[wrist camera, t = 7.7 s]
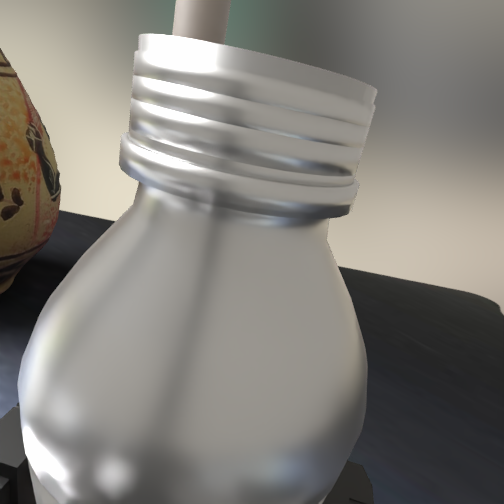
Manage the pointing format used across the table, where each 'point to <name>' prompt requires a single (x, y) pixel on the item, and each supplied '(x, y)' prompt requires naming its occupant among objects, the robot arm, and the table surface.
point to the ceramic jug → (23, 178)
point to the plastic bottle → (209, 296)
